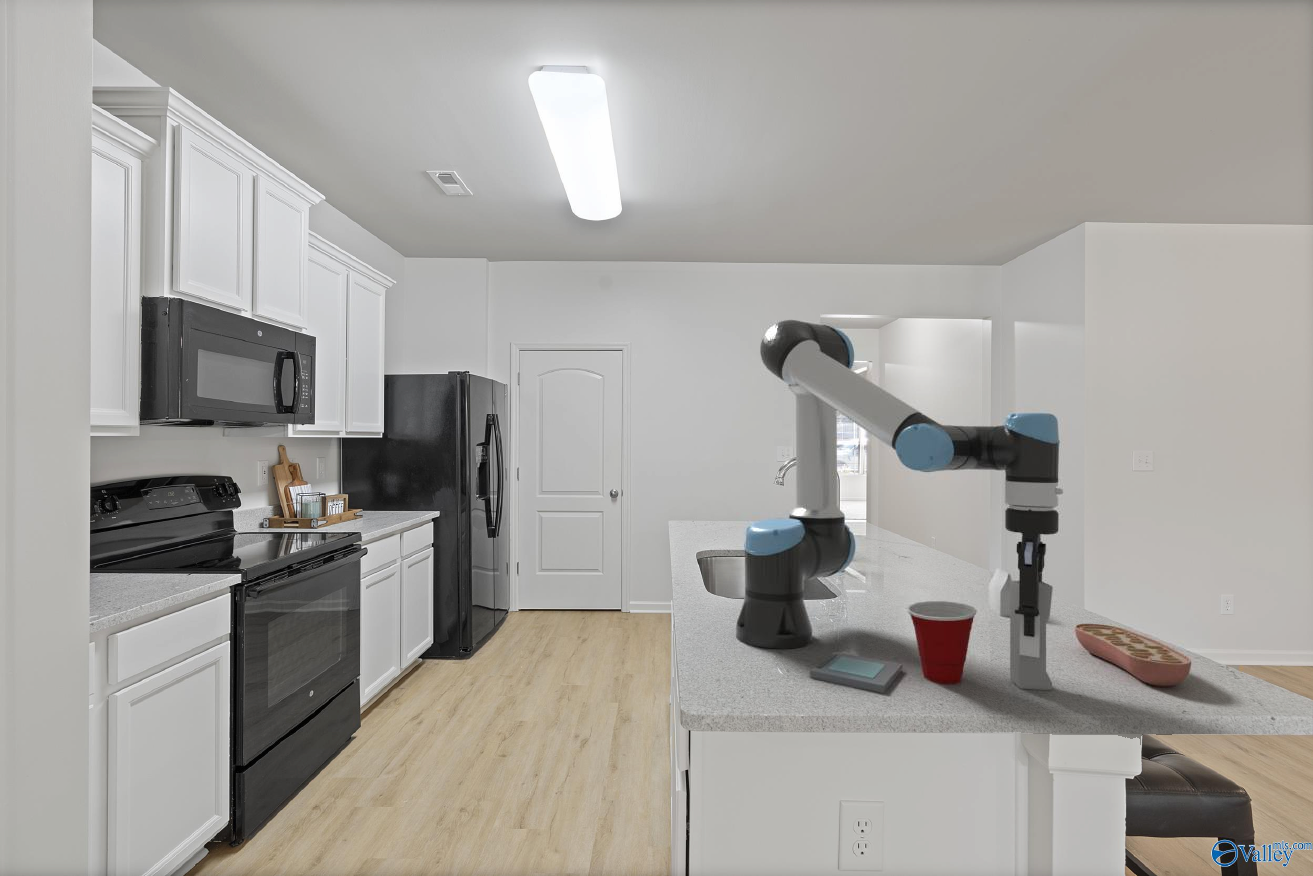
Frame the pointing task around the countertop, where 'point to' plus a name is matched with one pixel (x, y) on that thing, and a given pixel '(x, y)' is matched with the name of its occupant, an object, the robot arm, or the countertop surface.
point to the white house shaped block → (1000, 593)
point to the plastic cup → (942, 638)
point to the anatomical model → (1135, 653)
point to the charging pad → (857, 671)
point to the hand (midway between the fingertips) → (1030, 650)
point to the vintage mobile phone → (1022, 667)
